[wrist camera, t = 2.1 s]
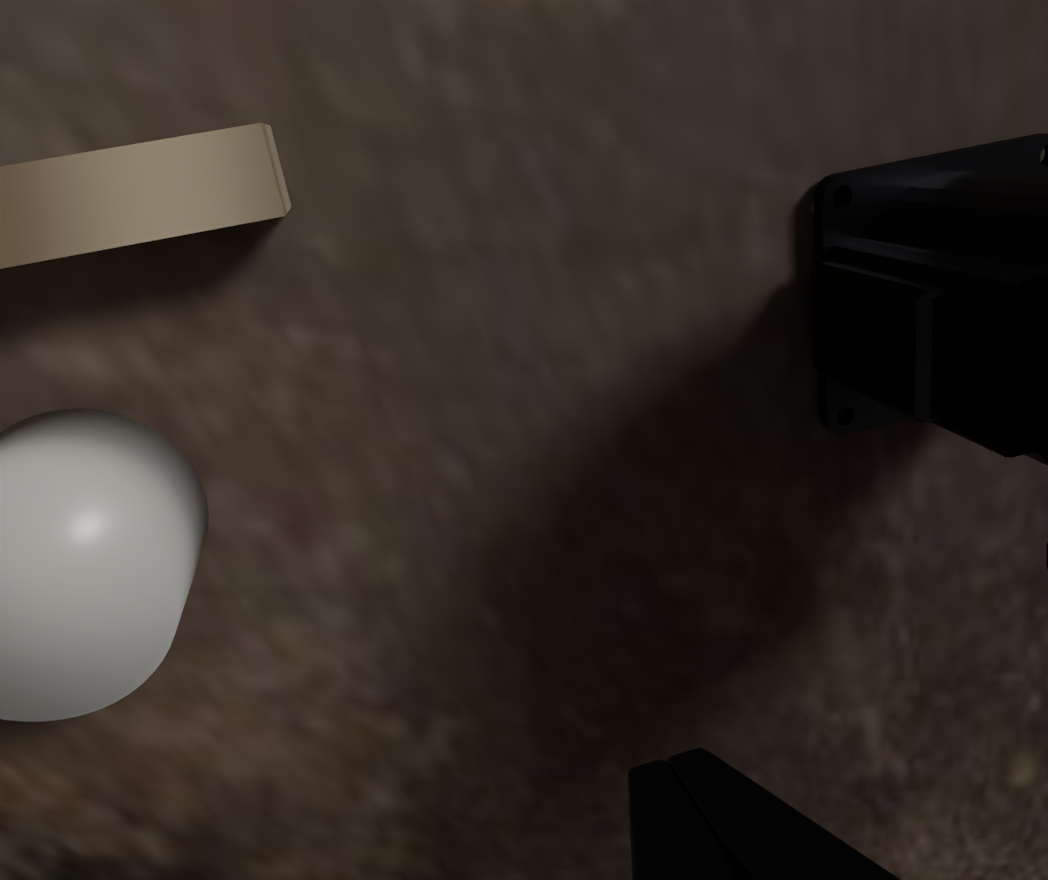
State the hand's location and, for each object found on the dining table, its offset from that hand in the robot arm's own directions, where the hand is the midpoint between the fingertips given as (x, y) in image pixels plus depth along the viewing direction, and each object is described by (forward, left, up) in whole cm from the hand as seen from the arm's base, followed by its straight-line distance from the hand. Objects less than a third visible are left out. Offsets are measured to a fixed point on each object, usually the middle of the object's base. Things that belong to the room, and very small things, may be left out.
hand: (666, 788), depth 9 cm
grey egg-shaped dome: (+9, 0, -12) cm, 15 cm away
